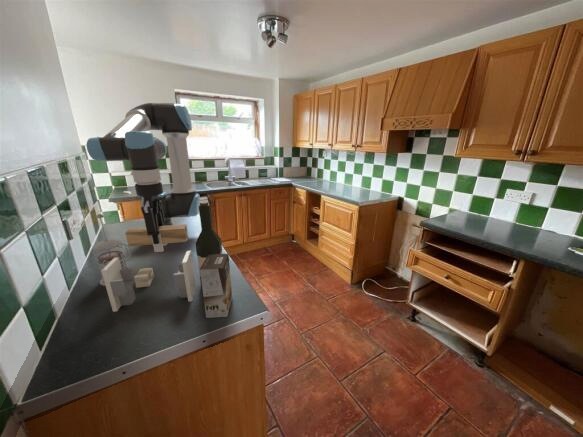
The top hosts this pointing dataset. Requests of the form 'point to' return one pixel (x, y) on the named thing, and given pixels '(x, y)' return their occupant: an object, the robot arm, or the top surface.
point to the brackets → (123, 280)
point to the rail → (167, 232)
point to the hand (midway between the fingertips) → (161, 248)
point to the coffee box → (216, 285)
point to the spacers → (144, 277)
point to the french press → (111, 254)
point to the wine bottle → (206, 237)
